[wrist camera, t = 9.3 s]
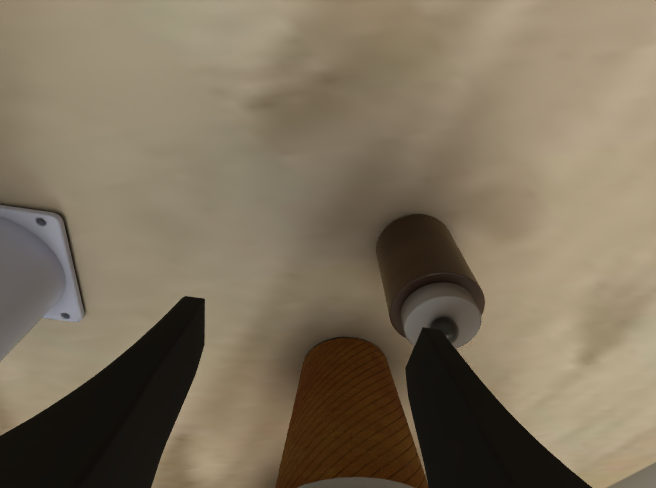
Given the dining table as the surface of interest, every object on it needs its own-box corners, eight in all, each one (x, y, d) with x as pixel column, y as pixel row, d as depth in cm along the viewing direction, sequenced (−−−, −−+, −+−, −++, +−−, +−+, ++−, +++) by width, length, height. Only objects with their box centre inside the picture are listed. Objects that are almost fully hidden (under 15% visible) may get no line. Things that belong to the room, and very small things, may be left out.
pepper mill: (368, 271, 23) (384, 370, 17) (386, 208, 21) (412, 294, 14) (437, 281, 23) (478, 380, 17) (461, 220, 21) (519, 308, 15)
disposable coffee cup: (276, 320, 25) (240, 528, 15) (417, 319, 25) (478, 527, 15) (285, 407, 30) (263, 609, 20) (403, 407, 30) (441, 609, 20)
